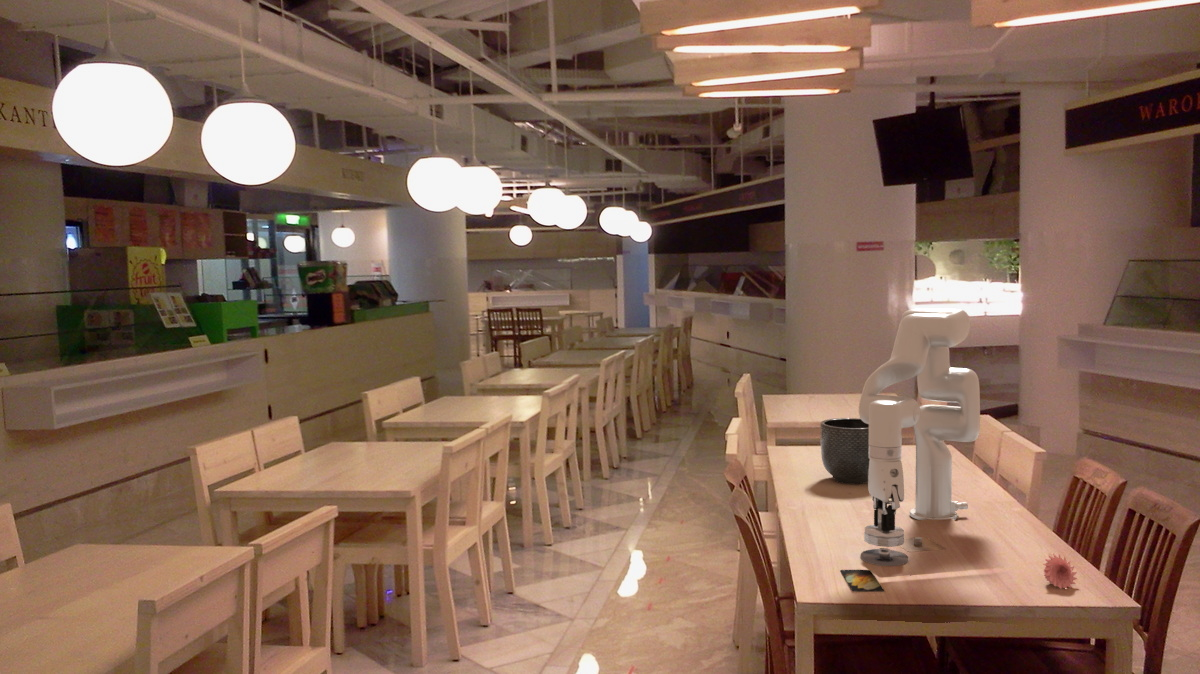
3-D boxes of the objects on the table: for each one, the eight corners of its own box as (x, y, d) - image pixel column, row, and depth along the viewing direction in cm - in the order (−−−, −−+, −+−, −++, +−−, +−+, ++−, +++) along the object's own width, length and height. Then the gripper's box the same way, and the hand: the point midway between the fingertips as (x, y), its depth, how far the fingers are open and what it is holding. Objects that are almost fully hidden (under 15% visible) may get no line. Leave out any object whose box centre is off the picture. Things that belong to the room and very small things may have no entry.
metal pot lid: (894, 553, 232) (894, 541, 232) (916, 567, 221) (917, 555, 221) (852, 556, 230) (853, 544, 230) (873, 571, 220) (873, 558, 219)
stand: (926, 541, 242) (926, 531, 241) (946, 552, 232) (947, 542, 232) (890, 543, 240) (890, 533, 240) (909, 555, 230) (909, 545, 230)
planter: (859, 471, 319) (859, 416, 318) (895, 484, 301) (895, 425, 299) (808, 476, 313) (808, 420, 312) (841, 490, 295) (841, 430, 293)
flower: (1036, 552, 213) (1050, 545, 208) (1069, 566, 212) (1084, 559, 207) (1032, 584, 209) (1046, 578, 204) (1065, 599, 208) (1081, 592, 203)
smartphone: (870, 569, 220) (885, 591, 206) (870, 572, 220) (885, 594, 206) (839, 569, 221) (852, 591, 206) (839, 572, 221) (852, 594, 206)
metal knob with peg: (892, 534, 230) (893, 503, 230) (910, 545, 222) (911, 512, 221) (858, 536, 229) (858, 505, 228) (875, 547, 220) (875, 515, 219)
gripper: (916, 458, 216) (915, 536, 218) (883, 445, 232) (883, 518, 234) (886, 460, 215) (885, 538, 216) (855, 446, 231) (854, 520, 232)
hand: (884, 527), depth 225 cm, fingers closed on metal knob with peg, 3 cm apart
